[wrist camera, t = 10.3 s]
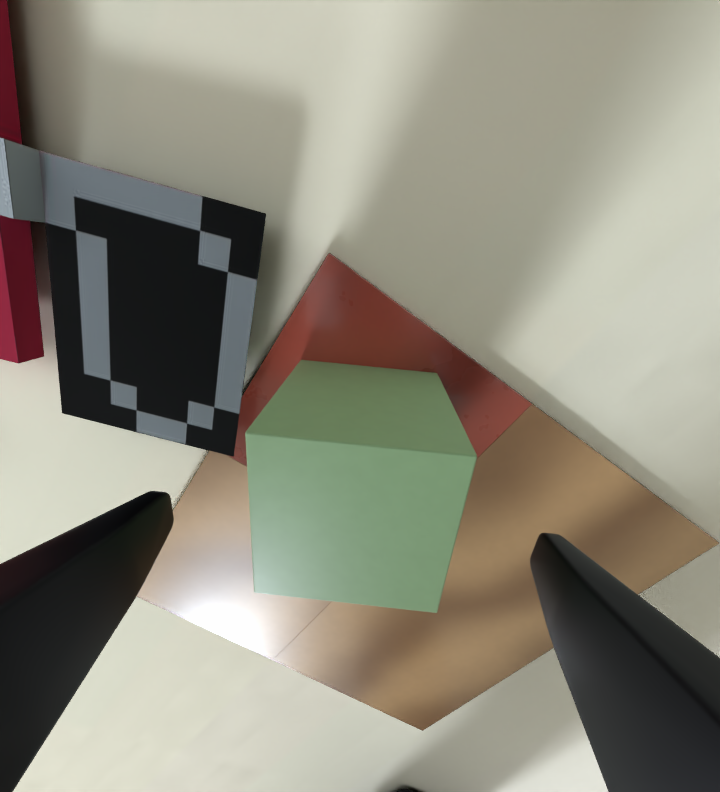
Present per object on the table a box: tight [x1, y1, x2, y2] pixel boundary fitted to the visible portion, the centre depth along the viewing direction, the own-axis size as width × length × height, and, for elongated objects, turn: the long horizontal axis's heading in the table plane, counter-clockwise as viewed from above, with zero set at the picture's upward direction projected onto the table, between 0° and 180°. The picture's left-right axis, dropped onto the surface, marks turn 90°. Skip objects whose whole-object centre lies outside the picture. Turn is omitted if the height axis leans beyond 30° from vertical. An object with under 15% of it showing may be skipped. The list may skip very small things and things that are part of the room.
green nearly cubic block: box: [245, 360, 477, 613], centre depth 11 cm, size 5×5×6 cm
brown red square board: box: [137, 253, 719, 731], centre depth 16 cm, size 20×20×1 cm
